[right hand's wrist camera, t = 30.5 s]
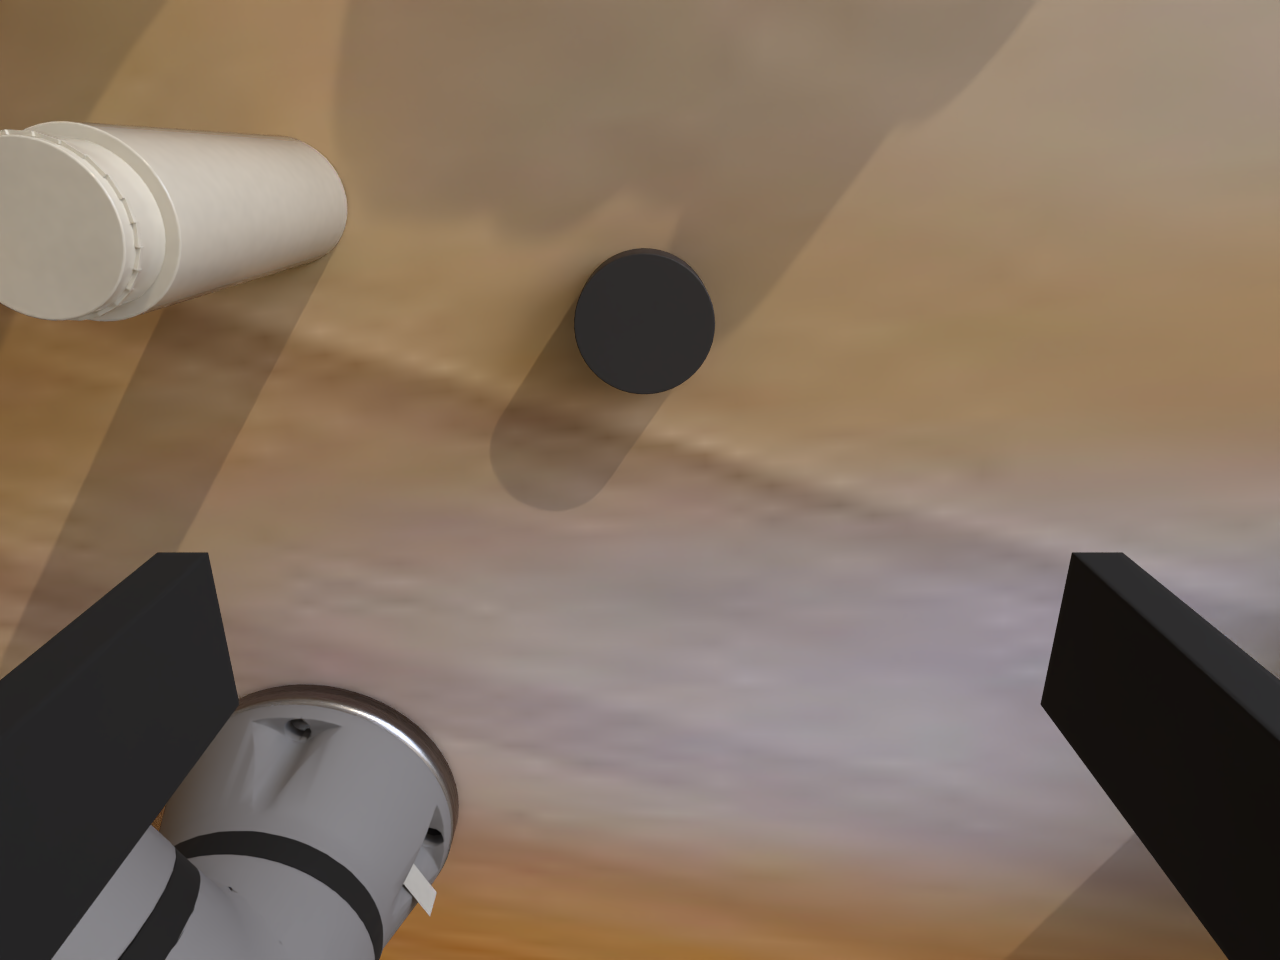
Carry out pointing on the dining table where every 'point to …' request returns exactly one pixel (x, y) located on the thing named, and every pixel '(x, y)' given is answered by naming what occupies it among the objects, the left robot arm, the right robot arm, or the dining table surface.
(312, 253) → the jar
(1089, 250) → the dining table surface
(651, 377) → the lid
